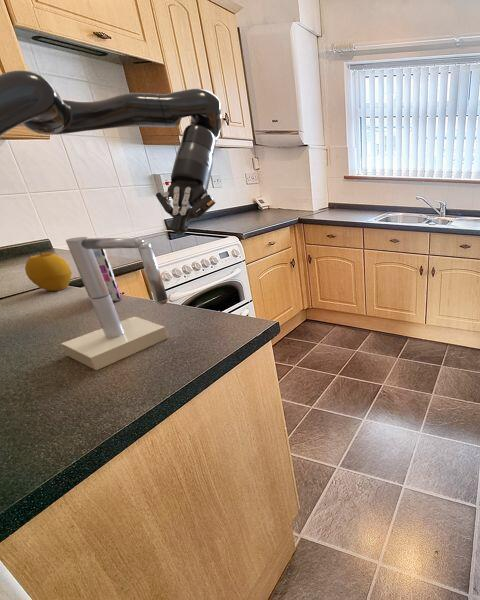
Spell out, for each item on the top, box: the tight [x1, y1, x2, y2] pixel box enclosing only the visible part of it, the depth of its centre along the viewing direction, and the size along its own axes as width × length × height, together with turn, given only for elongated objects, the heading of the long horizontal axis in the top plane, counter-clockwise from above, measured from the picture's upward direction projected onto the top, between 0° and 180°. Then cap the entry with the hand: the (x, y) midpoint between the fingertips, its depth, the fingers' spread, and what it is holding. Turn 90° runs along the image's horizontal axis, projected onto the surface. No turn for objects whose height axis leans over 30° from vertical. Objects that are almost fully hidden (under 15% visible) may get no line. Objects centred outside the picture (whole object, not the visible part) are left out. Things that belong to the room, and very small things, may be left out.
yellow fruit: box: [24, 252, 72, 292], centre depth 103 cm, size 10×10×12 cm
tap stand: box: [61, 294, 169, 371], centre depth 71 cm, size 14×12×12 cm
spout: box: [65, 236, 169, 305], centre depth 67 cm, size 15×3×14 cm, turn 93°
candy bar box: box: [92, 249, 122, 303], centre depth 96 cm, size 11×5×16 cm, turn 40°
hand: (178, 232), depth 76 cm, fingers closed
